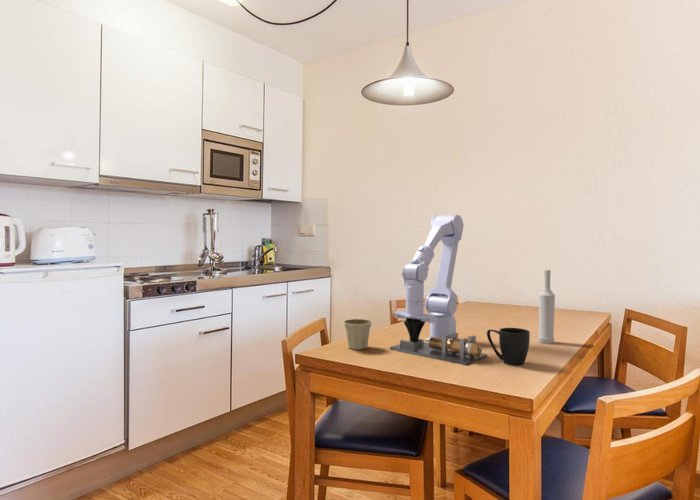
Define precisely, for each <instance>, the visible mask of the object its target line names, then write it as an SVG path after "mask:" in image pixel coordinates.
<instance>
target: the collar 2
mask: <svg viewBox="0 0 700 500" xmlns="http://www.w3.org/2000/svg"><path fill="white" fill-rule="evenodd" d="M476 339H477V338H476V335H469V336H468V337H467V338H466V337H463V338H460V339H459V341H460V358H461V359H465V358H466V343H468V341H469V343H473V344H477V340H476Z"/></svg>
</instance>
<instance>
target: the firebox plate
mask: <svg viewBox="0 0 700 500" xmlns="http://www.w3.org/2000/svg"><path fill="white" fill-rule="evenodd" d="M408 339H409V340H405V339H401V340H400V341H399V344H395V345H391V346H390V347H389V349H390V350H392V351H396V352H400V353H401V352H402V353H406V354H409V355H410V354H411V355H415V356H419V357H426V358H430V359H435V360H440V361H444V362H448V363H453V364H459V365H463V366H469V365H470V364H472V363H475V362H478V361H480V360H482V359H485V358H487V357H488V353H482V352H481V355H480V357H474V356H468V355H466V358H465V359H461V358H460V354H459V353H454V352H448V351H447V355H442V350H438V349H433V348H430V347H429V342H425V339H423V338H419V339H418V342H416V343H415V342H411V340H410V337H409V338H408Z"/></svg>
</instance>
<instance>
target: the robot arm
mask: <svg viewBox="0 0 700 500" xmlns="http://www.w3.org/2000/svg"><path fill="white" fill-rule="evenodd" d="M429 224H430V231H429V233H428V235H427V238H426V240H425V243H424V244H423V245H421V246H419V247H418V248H417V250H416V252H415V254H414V255H413V258H412V259H411V261H410V263H406V265H405V266H403V269H402V272H401V276H402V278H403V280H404V282H403V284H404V286H405V311H400V310H398V311H394V318H395V319H398V318H399V319H404V321H403V323H404V324H403V325H405V327H406V329H407V332H408V335H409V338H410V340H411V342H415V343H416V342H418V339H420V334H421V332H422V330H423V328H424V326H425V324H426V323H429V337H427V338H424V341H427V342H429V339H430V338H431V337H437V338H442V336H445V335H448V334H451V333H457V320H456V317H455V316H454V314H455V313H456V312H457V309H458V302H457V298H458V297H457V296H458V295H457V294H456V292H455V291H454V290H453V289H452V282H453V276H454V273H455V272H454V271H455V267H456V260H457V254H458V249H459V248H458V247H459V242H460V241H461V240H462V237H463V232H464V221H463V218H462V216H461V215H459V214H451V215H450V214H448V215H438V214H436V215H434V216H433V217H432V218H431V221H430V223H429ZM440 241H441V242H442V249H441V255H440V261H439V266H438V273H437V279H436V283H435V286H434V287H433V288H431V289H429V290H428V294H427V297H426V299H425V300H424V297H425V296H424V295H425V290H424V289H425V288H424V287H425V285H424V284H425V281H426V280H427V279H428V274H429V266H430V264H431V262H432V261H433V259H434V257H435V252H434V250H435V249H436V247H437V246H438V244H439V243H440ZM424 301H425V302H424ZM424 307H425V309H424ZM425 310H426V312H427V313H428V314H426V313H424V311H425ZM452 339H453V337H452V338H449V340H452Z"/></svg>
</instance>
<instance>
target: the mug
mask: <svg viewBox="0 0 700 500" xmlns="http://www.w3.org/2000/svg"><path fill="white" fill-rule="evenodd" d="M491 332H493V333H496V334H498V335H499V337H498V338H499V339H498V340H499V341H498V342H499V348H500V349H499V350H500V352H499V350H498V349H497V347H496V345H495V344H494V342H493V340H492V336H491ZM530 334H531V333H530V330H528V329H524V328H520V327H502V328H499V330H495V329H487V331H486V336H487V340H488V342H489V343H490V346H491V348H492V349H493V351H494V353H495V355H496V356H497V358H498V359H499V360H501V361H503V363H504V364H505V365H509V366H514V367H516V366H517V367H518V366H519V367H520V366H524V365H525V363H526V359H527V356H528V352H529V347H530V341H531V339H530V338H531V337H530V336H531V335H530Z"/></svg>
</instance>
